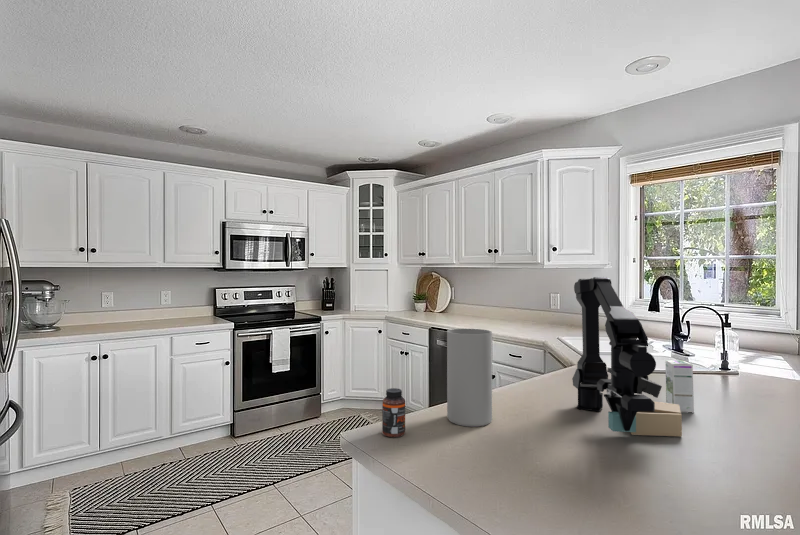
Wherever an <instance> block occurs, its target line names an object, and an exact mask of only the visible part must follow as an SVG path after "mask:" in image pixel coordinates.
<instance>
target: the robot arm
mask: <svg viewBox="0 0 800 535" xmlns="http://www.w3.org/2000/svg"><path fill="white" fill-rule="evenodd" d="M573 290H574V294H575V298H576V300H577V302H578V303H579V305H580V307H581V322H582V323H581V326H582V333H581V334H582V354H581V356H580V358H579V360H578V361H577V363H576V364H577V365H576V367H577V368H576V369H575V371H574V374H573V377H572V385H573V387H574V388H576V389H577V405H576V408H577V409H579V410H586V411H593V412H601V410H602V409H603V407H604V398H605V400H606V402H607V405H608V407H609V409H610V412H619V416H620V419H621V422H622V425H623V428H624V430H625V431H630V428H631V425H632V423H633V420H634V418H635V415H636V413H637V412H638V411H655V403H654V402H653V401H654V400H652V399H651V398H650V397H648V396H647V395H650V396H653V398H658V397H659V396H660V393H661V390H662V387H663V386H662V385H661V384H659V383H657V382H655V381H652V380H650V379H649V376H650V375H651V374H653V373H654V371H655V369H656V367H657V362H656V360H655V359H656V358H655V357H654V355H652V354H651V353H649V352H648V347H649V342H648V341H649V338H648V336H647V334H646V331H645V330H644V328H643V325H642V322H641V321H640V319H639V318H638V317H637V316H636V314H634V313H633V312H632V311H630V310H628V309H626V308H625V307H624V305H623V303H622V301H621V300H620V298H619V296H618V294H617V292H616V291H615V288H614V287H613V285H612V279H611V278H609V277H607V276H606V277H604V276H603V277H602V276H599V277H598V276H594V277H591V278H578V279H577V281H576V282H575V283H574V285H573ZM600 307H601V309H602V311H603V313H604V315H605V317H606V320H605V323H604V327H605V332H606V334H607V335H606V336H607V337H608V339H609V343H608V344H609V346H610V367H608V368H607V363H606V362H604V360H603V359H602V358H601V356H600V315H599V314H600V312H599V311H600V309H599V308H600ZM608 373H610V378H609V374H608ZM605 390H606V393H603V392H604V391H605ZM643 393H645V394H647V395H644V394H643Z"/></svg>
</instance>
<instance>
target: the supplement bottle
mask: <svg viewBox="0 0 800 535" xmlns="http://www.w3.org/2000/svg"><path fill="white" fill-rule="evenodd" d="M402 393H403V391H402V389H400V388H396V387H395V388H394V387H392V388H387V389H386V393H385V395H386V396H385V397H384V398H383V399H382V419H381V420H382V422H381V424H382V427H381V428H382V430H381V432H382V435H383V436H384V437H387V438H399V437H402V436H404V435H405V434H406V399H405V398H404V397H403V394H402Z"/></svg>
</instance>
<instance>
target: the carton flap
mask: <svg viewBox="0 0 800 535" xmlns="http://www.w3.org/2000/svg"><path fill="white" fill-rule="evenodd" d="M607 413H608V415H607V416H608V417H607V419H608V420H607V421H608V428H609V429H610V430H611V431H612V432H616V433H617V432H619V433H621V432H623V433H625V432H626V433H630V434H631V436H632V435H633V436H634V435H635V436H657V437H660V436H661V437H663V436H665V437H683V425H682V424H683V420H682V419H683V417H682V416H683V415H682V413H681V414H672V413H640V412H637V413H636V415H635V418H634V420H633V423H632V425H631V428H630V431H625V430H624V428H623V425H622V422H621V419H620V416H619V412H612V411H608V412H607Z"/></svg>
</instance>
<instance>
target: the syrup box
mask: <svg viewBox="0 0 800 535" xmlns="http://www.w3.org/2000/svg"><path fill="white" fill-rule="evenodd" d="M664 363H665V396H666V397H665V400H666V401H665V403H671V404H678V405H679V407H680V411H681V413H688V412H692V413H693V414H694V413H695V400H694V399H695V398H694V368H693V364H692V363H690V362H687V361H685V360H680V359H679V360H678V359H672V360H671V359H668V360H665V362H664Z"/></svg>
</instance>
